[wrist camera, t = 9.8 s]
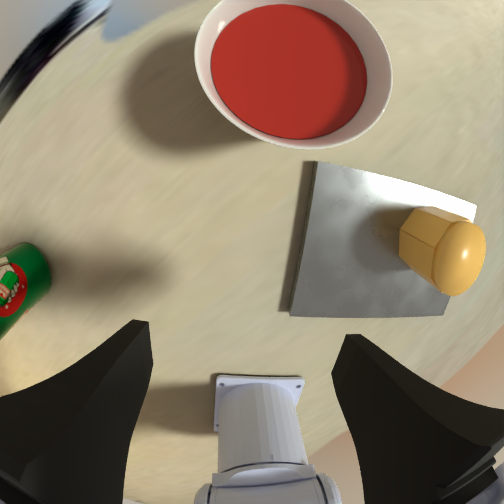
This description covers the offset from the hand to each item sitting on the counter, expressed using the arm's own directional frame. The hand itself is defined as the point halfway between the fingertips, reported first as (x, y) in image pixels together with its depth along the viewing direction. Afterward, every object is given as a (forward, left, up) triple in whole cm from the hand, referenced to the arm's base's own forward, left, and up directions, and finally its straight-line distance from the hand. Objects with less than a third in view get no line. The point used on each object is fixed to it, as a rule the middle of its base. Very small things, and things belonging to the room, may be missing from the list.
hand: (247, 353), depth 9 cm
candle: (+12, -1, -10) cm, 16 cm away
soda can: (-3, +18, -10) cm, 21 cm away
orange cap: (+3, -14, -9) cm, 17 cm away
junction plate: (+2, -12, -10) cm, 16 cm away
